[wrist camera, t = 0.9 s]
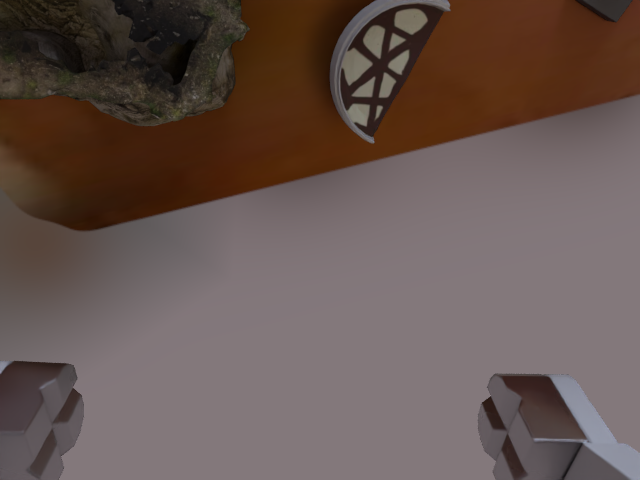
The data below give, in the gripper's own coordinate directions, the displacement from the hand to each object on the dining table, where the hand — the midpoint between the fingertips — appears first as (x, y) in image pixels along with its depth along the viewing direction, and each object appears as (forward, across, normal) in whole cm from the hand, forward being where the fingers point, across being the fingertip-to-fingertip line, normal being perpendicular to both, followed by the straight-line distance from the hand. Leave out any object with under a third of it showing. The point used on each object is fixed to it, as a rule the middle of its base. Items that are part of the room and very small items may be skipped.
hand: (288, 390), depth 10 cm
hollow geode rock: (+42, +18, -2) cm, 45 cm away
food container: (+42, -6, -1) cm, 42 cm away
